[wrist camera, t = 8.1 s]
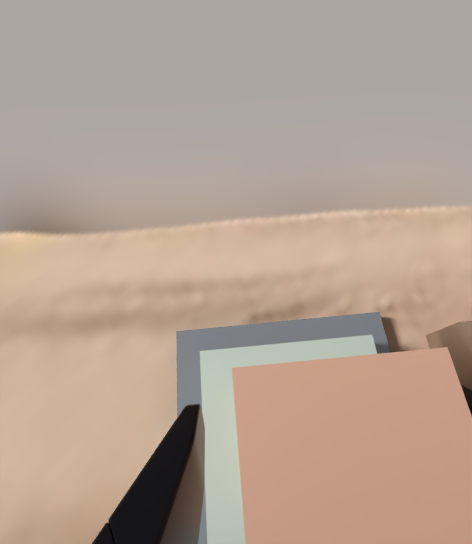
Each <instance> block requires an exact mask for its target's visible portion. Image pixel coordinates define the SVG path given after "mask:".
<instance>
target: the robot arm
mask: <svg viewBox="0 0 472 544" xmlns="http://www.w3.org/2000/svg"><path fill="white" fill-rule="evenodd" d="M461 387H462V390H463V393H464V396H465V398H466V401H467V404H468V407H469V410H470V413H471V415H472V390H471V389H469V388H467V387H465V386H463V385H461ZM204 472H205V425H204V419H203V414H202V408H201V405H200V404H190V405H186V406H185V407H184V409H183V410H182V412H181V413H180V415H179V416H178V418H177V419H176V421H175V422H174V424H173V425H172V427H171V428H170V429H169V431H168V432H167V434H166V435H165V437H164V438H163V440H162V441H161V443H160V444H159V446H158V447H157V449H156V450H155V452H154V453H153V455H152V456H151V458H150V459H149V460H148V462H147V463H146V465H145V466H144V468H143V469H142V471H141V472H140V474H139V475H138V477H137V478H136V480H135V481H134V483H133V484H132V486H131V487H130V489H129V490H128V491H127V493H126V494H125V496H124V497H123V499H122V500H121V502H120V503H119V505H118V506H117V508H116V509H115V511H114V512H113V514H112V515H111V517H110V518H109V520H108V521H109V523H106V524H105V525H104V527H103V528H102V530H101V531H100V533H99V534H98V536H97V537H96V539H95V540H94V541H93V543H92V544H198V539H199V531H200V522H201V514H202V506H203V496H204Z"/></svg>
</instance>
